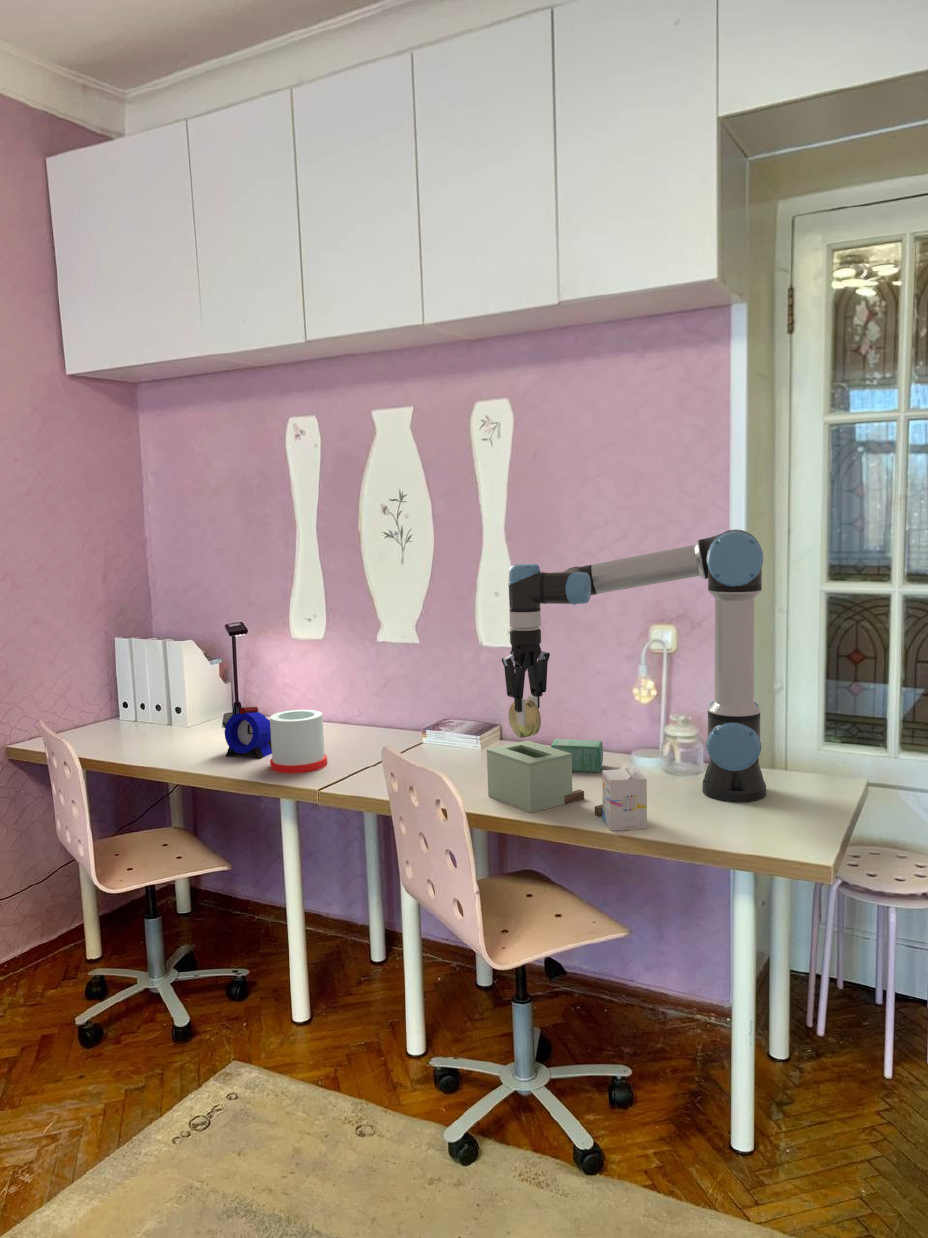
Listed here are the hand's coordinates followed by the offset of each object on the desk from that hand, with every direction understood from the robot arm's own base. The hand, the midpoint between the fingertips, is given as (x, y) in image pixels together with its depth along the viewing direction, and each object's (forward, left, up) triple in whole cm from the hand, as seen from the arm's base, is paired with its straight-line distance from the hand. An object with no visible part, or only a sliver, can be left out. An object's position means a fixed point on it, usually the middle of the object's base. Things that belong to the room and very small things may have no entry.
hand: (527, 723), depth 232 cm
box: (+12, -27, -19) cm, 35 cm away
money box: (0, 0, -19) cm, 19 cm away
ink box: (-28, -5, -19) cm, 34 cm away
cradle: (-14, -7, -19) cm, 25 cm away
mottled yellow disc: (+3, 0, -3) cm, 4 cm away
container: (+67, +31, -19) cm, 76 cm away
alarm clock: (+89, +36, -19) cm, 98 cm away
